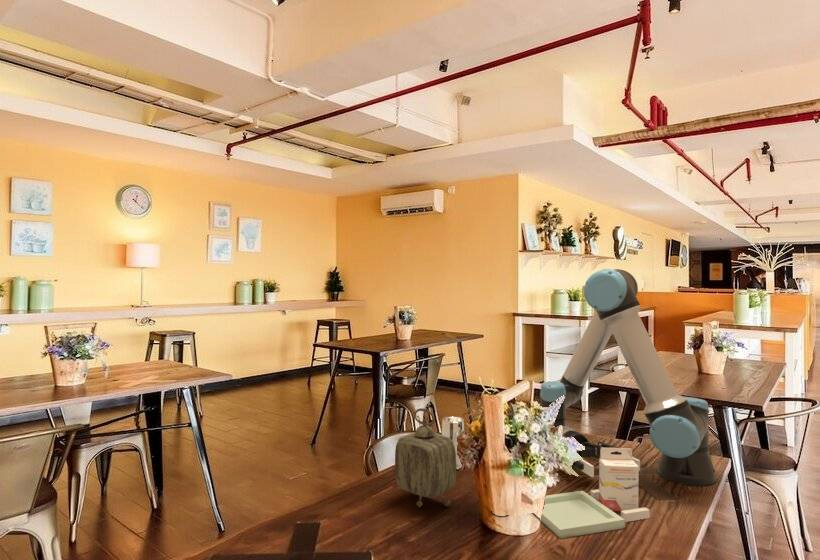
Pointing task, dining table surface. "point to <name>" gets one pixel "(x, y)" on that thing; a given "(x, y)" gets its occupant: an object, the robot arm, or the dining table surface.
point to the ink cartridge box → (618, 479)
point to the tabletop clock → (425, 462)
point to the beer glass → (453, 432)
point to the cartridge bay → (627, 514)
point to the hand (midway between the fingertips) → (616, 468)
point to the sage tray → (578, 515)
